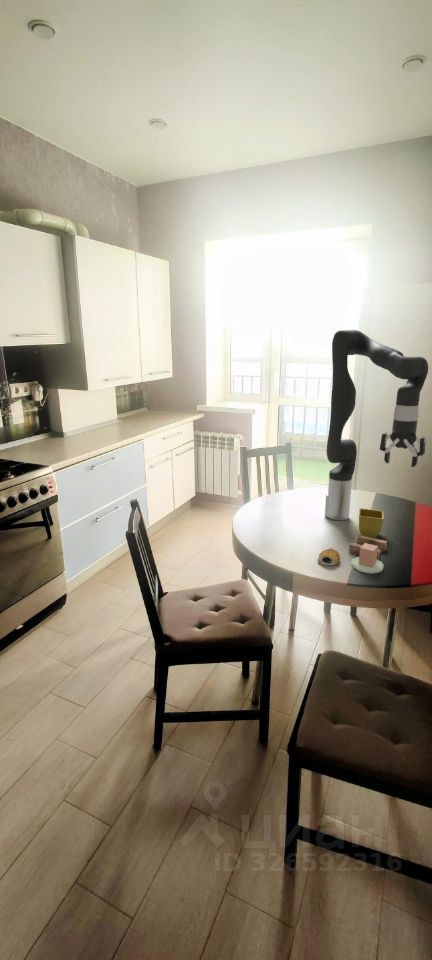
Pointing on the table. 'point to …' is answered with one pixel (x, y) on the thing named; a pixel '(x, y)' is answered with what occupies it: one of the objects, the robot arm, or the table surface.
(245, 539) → the table surface
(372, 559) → the part
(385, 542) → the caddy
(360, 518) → the flower pot
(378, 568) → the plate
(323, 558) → the pastry
